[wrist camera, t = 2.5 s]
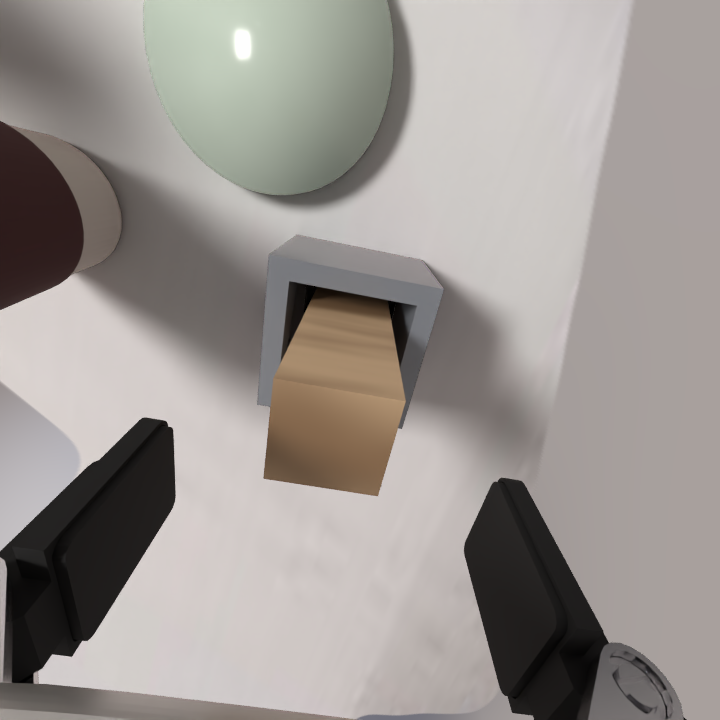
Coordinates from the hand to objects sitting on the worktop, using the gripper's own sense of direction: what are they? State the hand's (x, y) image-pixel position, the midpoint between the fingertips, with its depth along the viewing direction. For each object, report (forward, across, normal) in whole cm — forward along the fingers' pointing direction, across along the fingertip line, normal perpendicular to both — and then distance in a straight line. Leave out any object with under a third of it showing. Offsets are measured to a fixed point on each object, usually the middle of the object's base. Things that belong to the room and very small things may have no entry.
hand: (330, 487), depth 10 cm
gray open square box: (+15, 0, -1) cm, 15 cm away
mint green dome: (+15, +6, -13) cm, 21 cm away
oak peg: (+15, 0, -1) cm, 15 cm away
